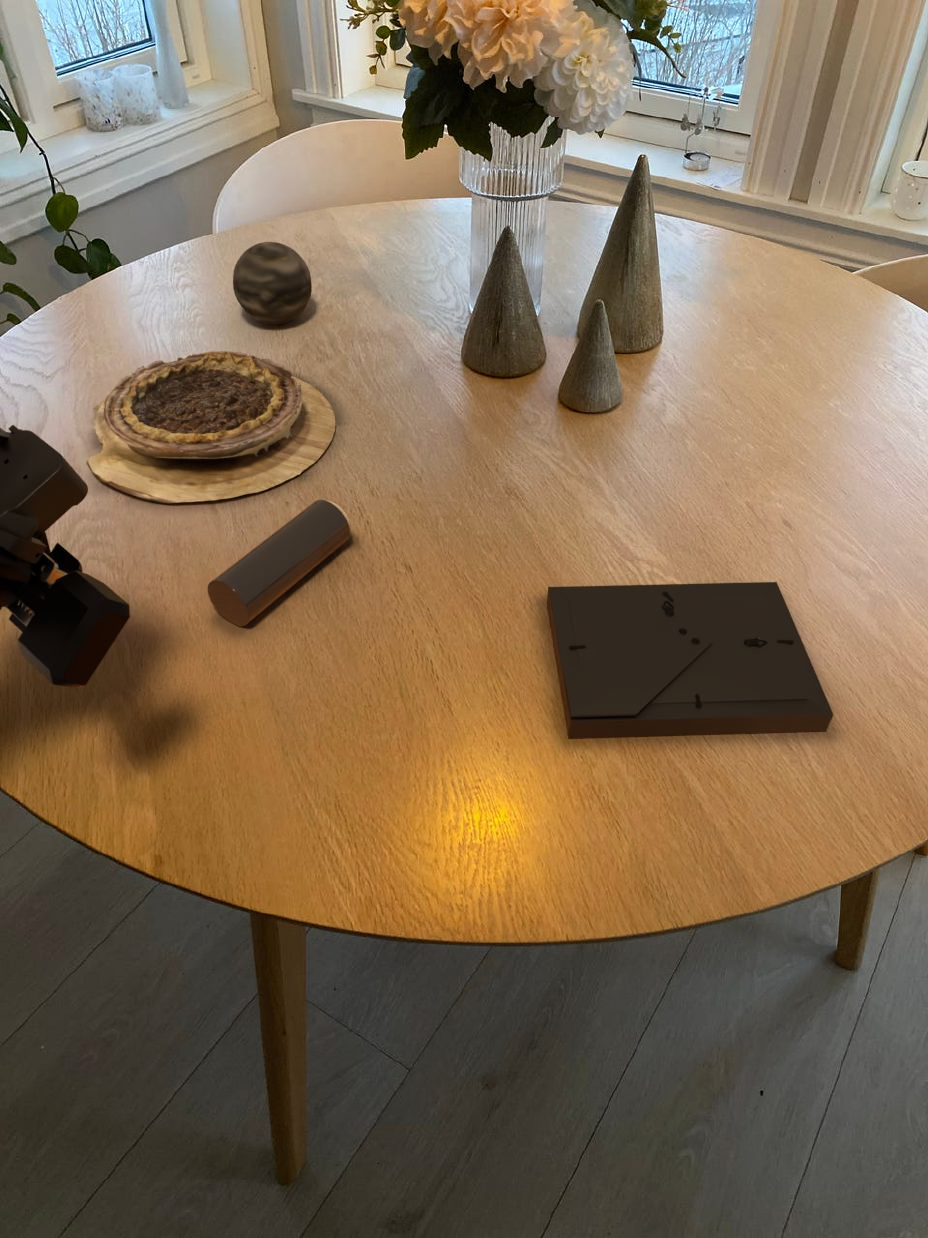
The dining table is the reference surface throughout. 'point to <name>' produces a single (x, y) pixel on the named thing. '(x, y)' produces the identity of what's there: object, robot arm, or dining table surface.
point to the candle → (279, 562)
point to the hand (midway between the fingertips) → (101, 596)
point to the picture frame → (682, 661)
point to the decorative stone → (272, 283)
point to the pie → (209, 428)
